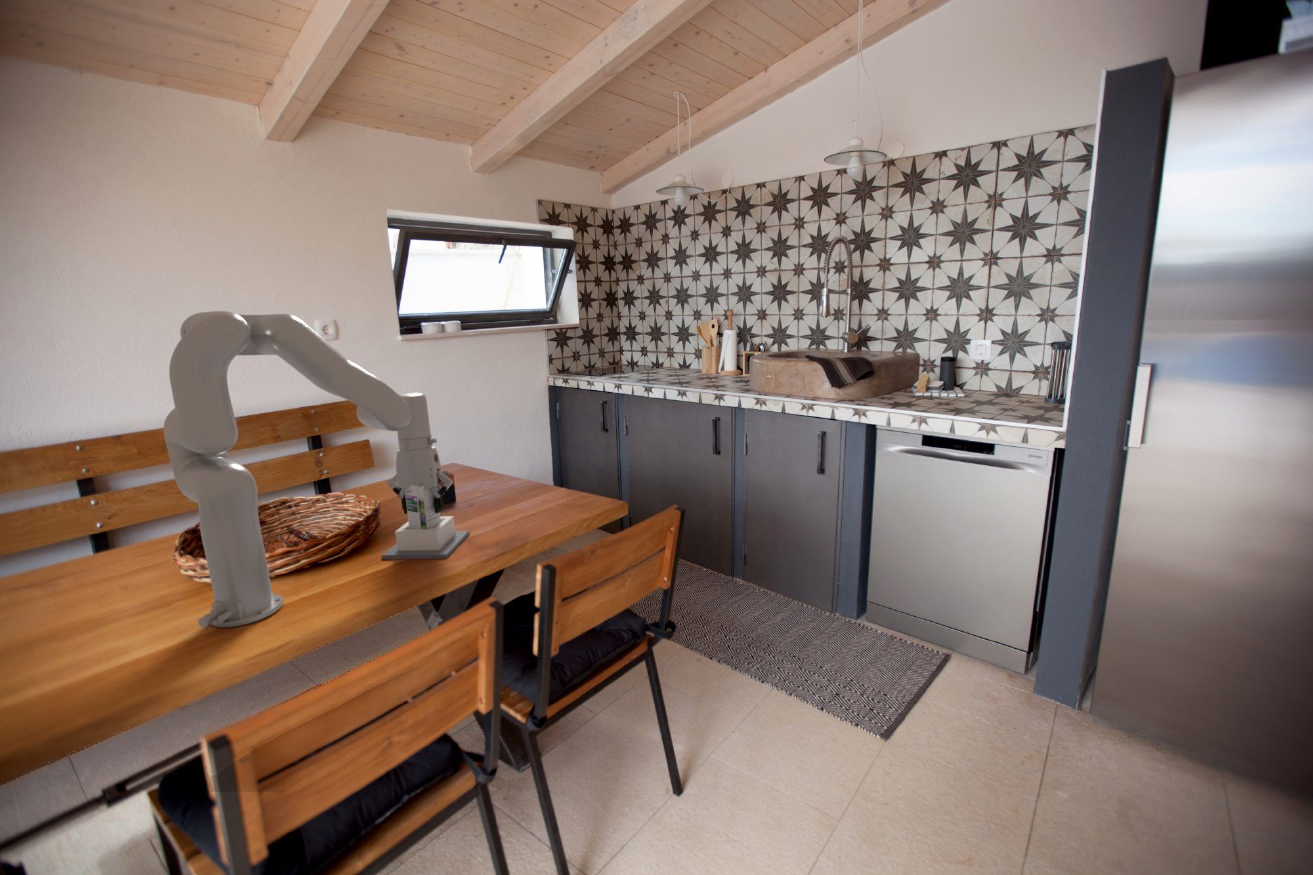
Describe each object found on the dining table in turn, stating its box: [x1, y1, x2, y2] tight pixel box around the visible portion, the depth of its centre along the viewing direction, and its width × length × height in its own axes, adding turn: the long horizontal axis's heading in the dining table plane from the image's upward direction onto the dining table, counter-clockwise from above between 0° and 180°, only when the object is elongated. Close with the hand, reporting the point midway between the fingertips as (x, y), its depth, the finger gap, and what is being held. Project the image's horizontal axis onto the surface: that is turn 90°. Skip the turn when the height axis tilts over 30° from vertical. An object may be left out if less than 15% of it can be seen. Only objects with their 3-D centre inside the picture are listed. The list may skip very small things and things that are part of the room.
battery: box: [439, 470, 457, 506], centre depth 189 cm, size 4×7×10 cm, turn 137°
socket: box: [381, 515, 470, 560], centre depth 155 cm, size 16×16×6 cm
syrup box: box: [405, 485, 441, 529], centre depth 153 cm, size 6×6×14 cm
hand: (423, 511), depth 153 cm, fingers closed on syrup box, 7 cm apart
